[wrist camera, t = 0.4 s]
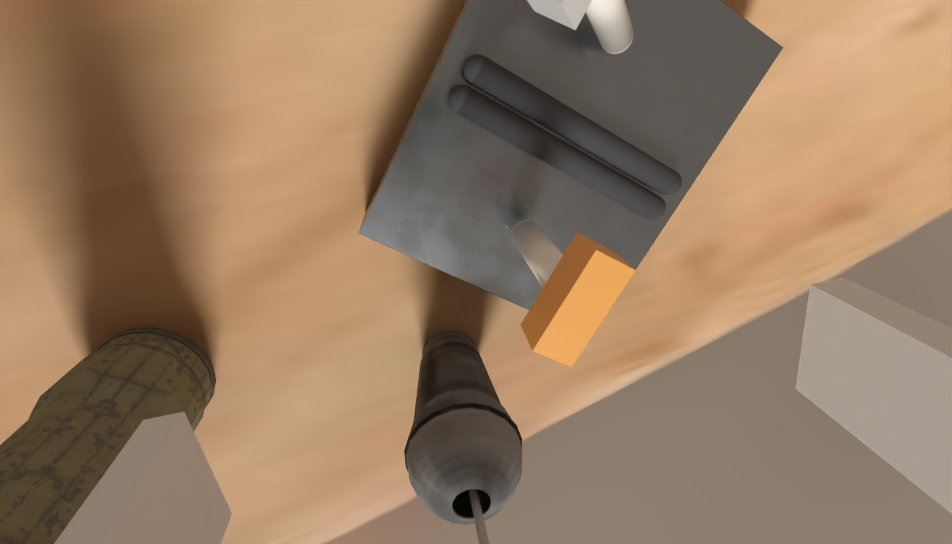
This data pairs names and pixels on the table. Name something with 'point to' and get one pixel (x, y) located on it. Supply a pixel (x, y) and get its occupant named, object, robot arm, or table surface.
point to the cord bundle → (568, 126)
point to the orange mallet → (568, 290)
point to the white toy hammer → (592, 19)
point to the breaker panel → (584, 90)
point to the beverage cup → (461, 437)
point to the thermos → (94, 426)
